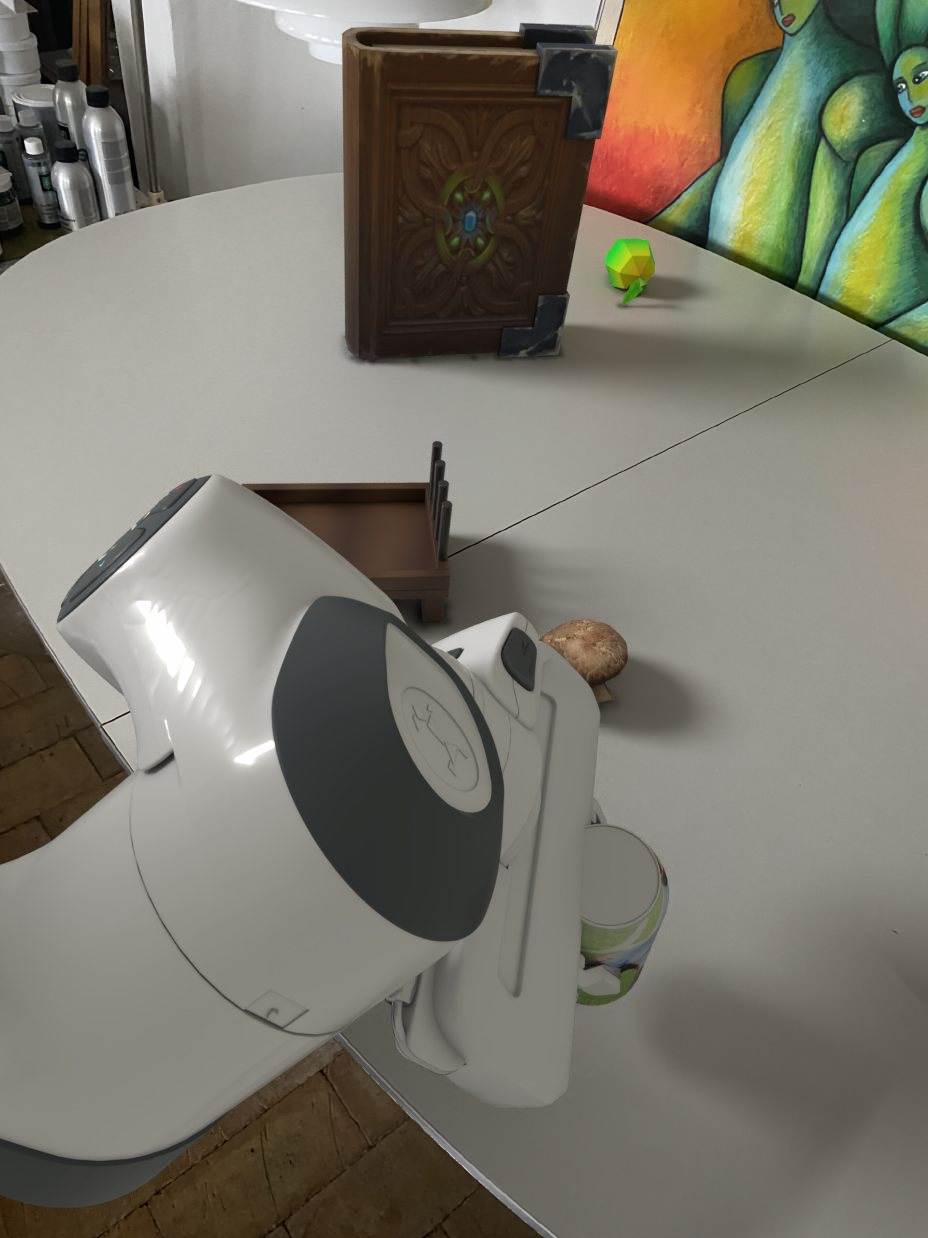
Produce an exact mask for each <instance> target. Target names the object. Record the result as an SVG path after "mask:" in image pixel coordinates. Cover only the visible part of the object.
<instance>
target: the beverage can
mask: <svg viewBox="0 0 928 1238" xmlns="http://www.w3.org/2000/svg"><path fill="white" fill-rule="evenodd" d="M584 828H585V829H586V830H585V849H584V868H583V888H582V908H581V917H580V919H581V921H582V922H583V925H582V937H581V949H580V953H581V954H582V955H583V956H584V957H585V964H588V965H589V964H602V963H605V964H608V965H610V966H613V967H617V968H621V975H620V992H619V993H618V994H611V995H601V996H596V995H591V994H588V993H586V992H585V991H583V990H582V989H577V996H576V1005H577V1004H578V1005H582V1006H587V1007H595V1006H597V1007H599V1006H602V1005H608V1004H612V1003H613V1002H616V1001H618V1000H620V999H621V998H622V997H624V996H625V995H627V993H628V992H629V991H631V990H632V989H633V987H634V986H635V985H636V983H637V981H638V979H639V977H640V975H641V973H642V971H643V969H644V966H645V964H646V961H647V959H648V957H649V954H650V952H651V950H652V947H653V945H654V942H655V940H656V939H657V938H656V937H657V935H658V933H659V931H660V928H661V926H662V923H663V922H664V919H665V916H666V914H667V912H668V911H667V910H668V907H669V906H668V905H669V901H670V888H669V887H670V886H669V882H668V881H669V880H668V876H667V873H666V871H665V867H664V865H663V864H662V862H661V860H660V858H659V856H658V854H656V852H655V851H654V850H653V849H652V847H651V846H650V845H649V844H648V843H647V842H646V841H644V839H642V838H641V837H640V836H638V835H637V834H636V833H635V832H633V831H631V830H629V829H627V828H625V827H623V826H620V825H616V824H612V823H611V824H610V823H608V824H593V825H588V826H585V827H584Z"/></svg>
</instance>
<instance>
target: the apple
mask: <svg viewBox="0 0 928 1238" xmlns="http://www.w3.org/2000/svg"><path fill="white" fill-rule="evenodd" d="M604 260H605V261H604V266H605V268H606V272H607V274H608V277H609V280H610V283H611V286H612V287H613V288H619V289H626V290H625V293H624V297H623V300H622V303H621V307H623V306H625V305H627V304H628V303H630V302H631V301H633V300H634V299H636V298H638V297H639V296H640V295H641V294H642V292H643V290H645V289H646V287H647V286H648V284H649V282H648V281H649V280H650V279H651V278H652V277H653V275H654V274H655V272H656V261H655V257H654V254H653V252H652V248H651V244H650V241H649V239H643V238H617V240H616V241H615V242H614V244H613V245H612V246H611V248H609V251H608V252H607V253H606V255H605V259H604Z"/></svg>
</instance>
